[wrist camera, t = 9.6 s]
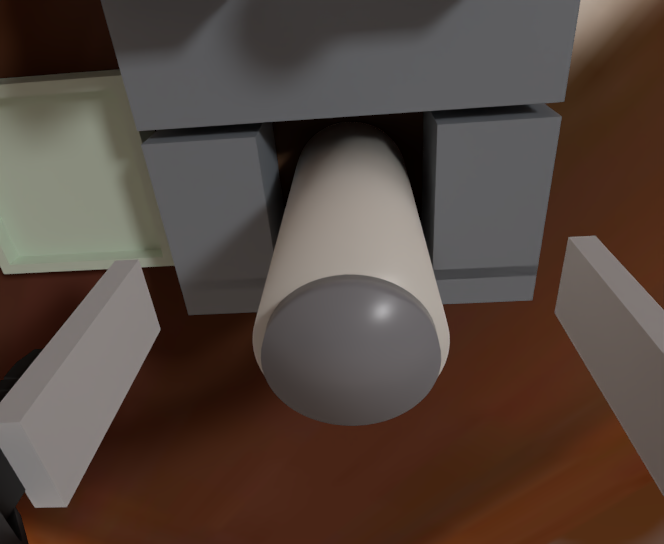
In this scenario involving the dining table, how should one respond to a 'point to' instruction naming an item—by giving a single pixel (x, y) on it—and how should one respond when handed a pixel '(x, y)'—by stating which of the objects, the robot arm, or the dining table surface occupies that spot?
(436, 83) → the housing
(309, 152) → the cylinder
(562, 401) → the dining table surface
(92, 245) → the tray
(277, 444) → the dining table surface
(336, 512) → the dining table surface
